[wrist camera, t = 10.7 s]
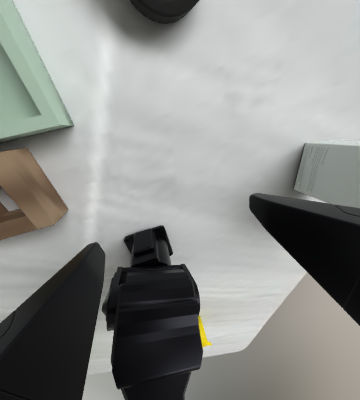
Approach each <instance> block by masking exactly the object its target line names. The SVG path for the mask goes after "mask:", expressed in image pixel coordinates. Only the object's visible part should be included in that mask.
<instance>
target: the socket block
mask: <svg viewBox="0 0 360 400" xmlns="http://www.w3.org/2000/svg"><path fill="white" fill-rule="evenodd" d="M0 186H1V187H2V188H3V189H4V190H5V191H6V193H7V194H8V195H9V196H10V197H11V198H12V200H13V201H14V202H15V203H16V204H17V206H18V207H19V208H20V209H17V210H13V211H10V212H9V211H8V210H7V209H6V208H5V207H4V206H3V205H2V204H1V202H0V240H2V239H5V238H9V237H12V236H16V235H19V234H23V233H26V232H30V231H33V230H37V229H40V228H44V227H47V226H51V225H54V224H55V223H56V222H57V221H58V220H59V219H60V218H61V217H62V216H63V215H64V214H65V213H66V212H67V210H68V208H67V206H66V205H65V203H64V202H63V200H62V199H61V197H60V196H59V194H58V193H57V191H56V190H55V188H54V187H53V185H52V184H51V182H50V181H49V180H48V178H47V177H46V175H45V174H44V172H43V171H42V169H41V168H40V166H39V165H38V163H37V162H36V160H35V159H34V157H33V156H32V154H31V153H30V151H29V150H28V148H22V149H16V150H10V151H3V152H0Z"/></svg>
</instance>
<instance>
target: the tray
mask: <svg viewBox="0 0 360 400" xmlns="http://www.w3.org/2000/svg"><path fill="white" fill-rule="evenodd" d="M70 126H74V124H73V122H72V120H71V118H70V116H69V114H68V112H67V110H66V108H65V106H64V104H63V102H62V100H61V98H60V96H59V94H58V92H57V90H56V88H55V86H54V83H53V81H52V79H51V77H50V75H49V73H48V71H47V69H46V67H45V65H44V63H43V61H42V59H41V57H40V55H39V53H38V51H37V49H36V47H35V45H34V43H33V41H32V39H31V37H30V35H29V33H28V31H27V29H26V27H25V25H24V23H23V21H22V19H21V17H20V15H19V13H18V11H17V9H16V7H15V5H14V2H13V0H0V142H5V141H9V140H13V139H18V138H22V137H26V136H31V135H35V134H39V133H44V132H48V131H52V130H57V129H61V128H65V127H70Z"/></svg>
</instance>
